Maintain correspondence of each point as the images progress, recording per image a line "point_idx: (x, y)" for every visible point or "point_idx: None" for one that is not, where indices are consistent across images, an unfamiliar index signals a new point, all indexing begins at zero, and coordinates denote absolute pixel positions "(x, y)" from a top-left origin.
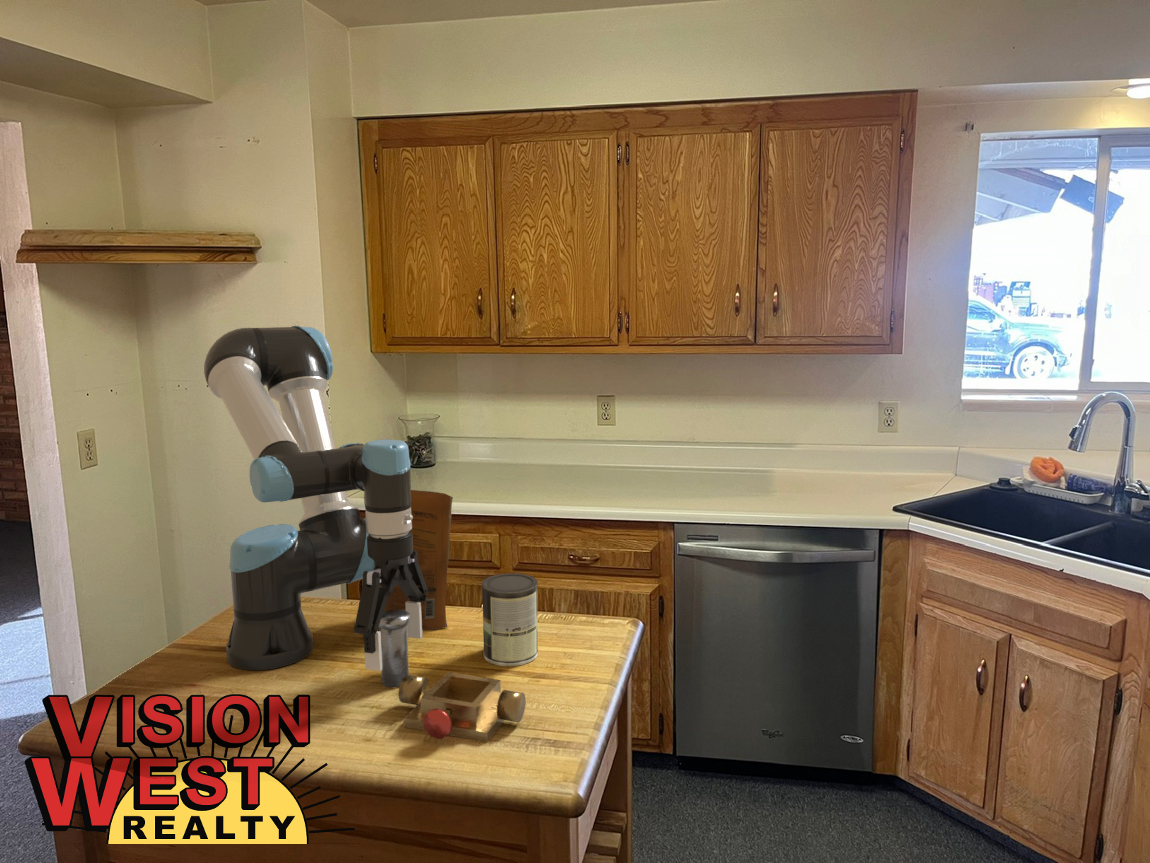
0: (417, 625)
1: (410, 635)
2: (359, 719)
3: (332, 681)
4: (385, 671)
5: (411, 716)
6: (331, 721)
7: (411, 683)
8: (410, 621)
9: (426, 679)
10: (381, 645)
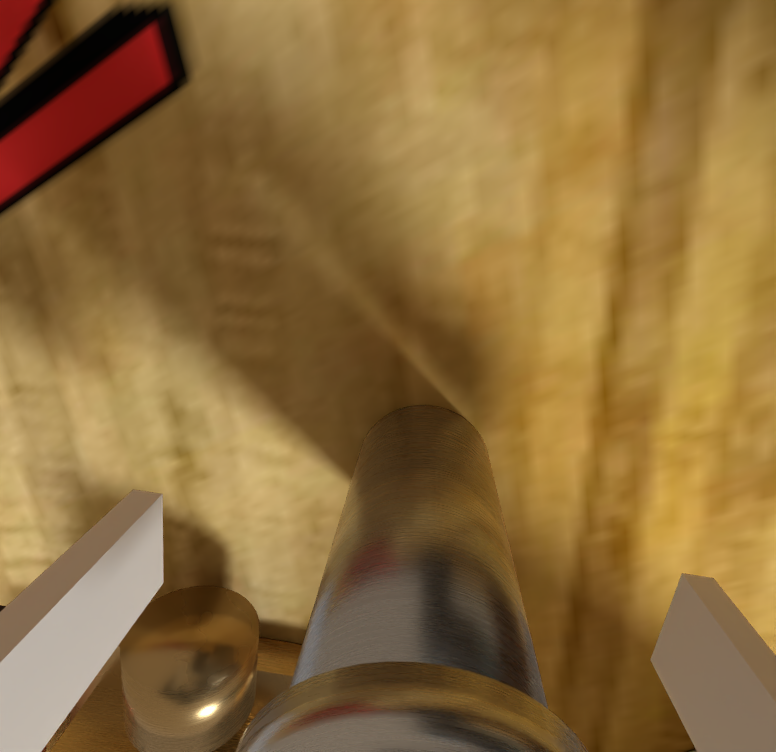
0: (704, 740)
1: (679, 609)
2: (73, 438)
3: (365, 133)
4: (350, 484)
5: None
6: (14, 331)
7: (128, 715)
8: (747, 716)
9: (220, 741)
10: (337, 562)
